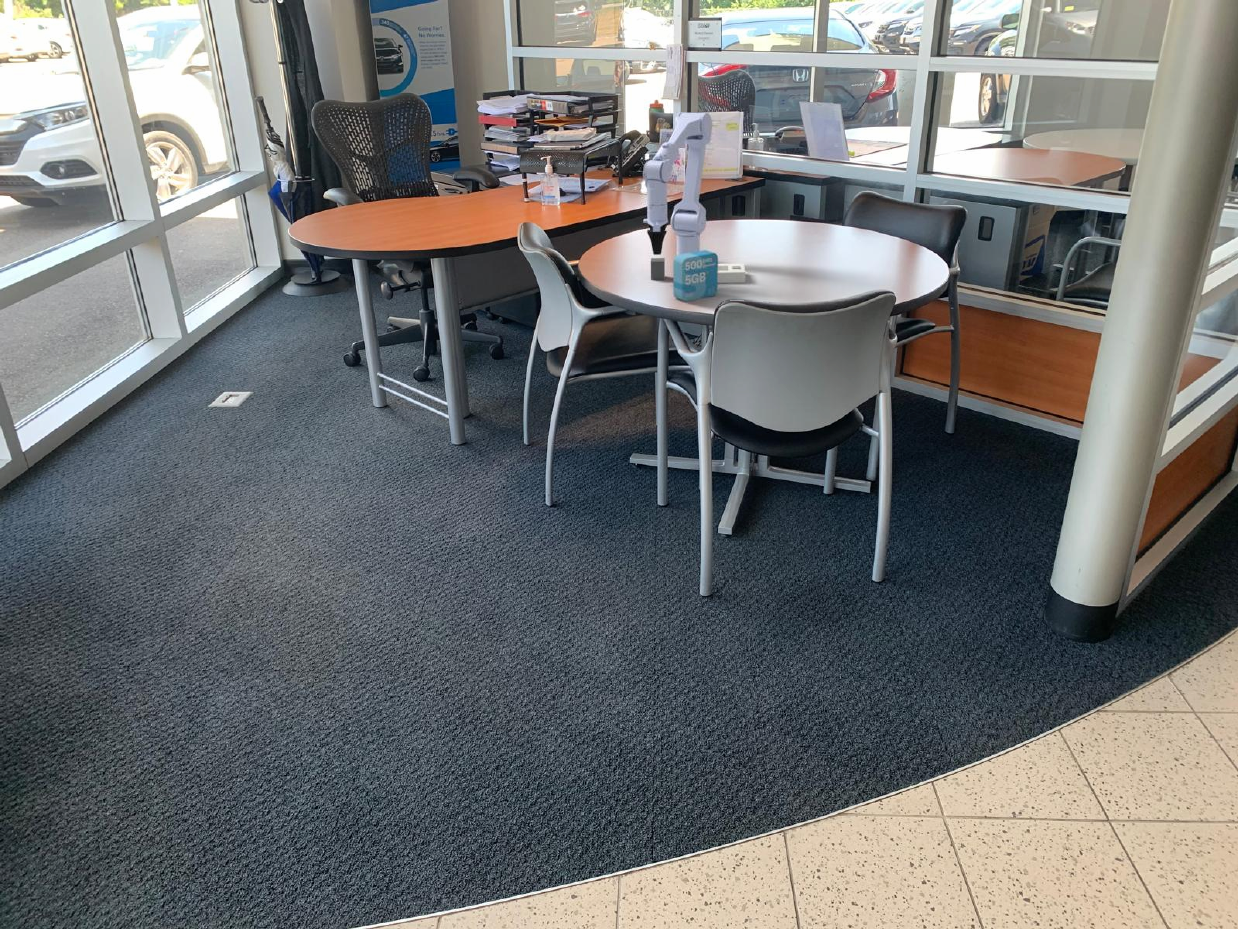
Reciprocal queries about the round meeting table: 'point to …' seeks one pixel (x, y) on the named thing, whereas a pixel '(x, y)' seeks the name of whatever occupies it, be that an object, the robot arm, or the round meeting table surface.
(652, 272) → the plug
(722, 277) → the white socket board
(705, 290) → the data package
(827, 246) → the round meeting table surface
